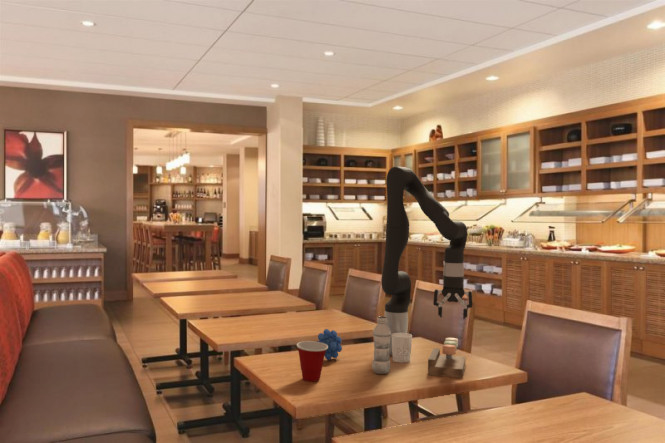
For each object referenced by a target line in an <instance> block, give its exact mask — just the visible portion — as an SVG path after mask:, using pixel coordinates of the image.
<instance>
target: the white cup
mask: <svg viewBox="0 0 665 443" xmlns="http://www.w3.org/2000/svg"><path fill="white" fill-rule="evenodd" d="M412 342H413V335H412V333H408V332H407V333H393V334H392V353H393V356H392V361H393V362H395V363H400V364H401V363H402V364H403V363H410V362H411V354H412Z"/></svg>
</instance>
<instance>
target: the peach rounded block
mask: <svg viewBox="0 0 665 443" xmlns="http://www.w3.org/2000/svg"><path fill="white" fill-rule="evenodd" d="M456 353H457V350H456V346H454V345H444V344H443V345H442V355H446V359H452V356H455V355H456Z"/></svg>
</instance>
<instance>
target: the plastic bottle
mask: <svg viewBox="0 0 665 443" xmlns="http://www.w3.org/2000/svg"><path fill="white" fill-rule="evenodd" d="M376 323H377V324H376V325H375V327H374V329H373V330H372V335H373V347H374V350H373V359H372V364H371V366H372V371H373V372H374V373H375V374H377V375H378V374H379V375H384V374H385V375H386V374H389V372H390V371H391V359H390V355H389V342H390V335H391V331H390V329H389V327H388V325H387V317H385V315H384V316H380V315H379V316H377V317H376Z"/></svg>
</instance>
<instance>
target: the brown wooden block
mask: <svg viewBox="0 0 665 443" xmlns="http://www.w3.org/2000/svg"><path fill="white" fill-rule="evenodd" d="M440 352H441V348H440V347H439V348H438V347H433V348H432V350H431V352H430V354H429V356H428V359H427V375H429V376H438V377H439V376H441V377H451V378H458V379H459V378H461V379H462V378H463V377H464V373H465V368H466V356H461V355H460V356H459V355H452V359H446V354H441V353H440Z"/></svg>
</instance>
